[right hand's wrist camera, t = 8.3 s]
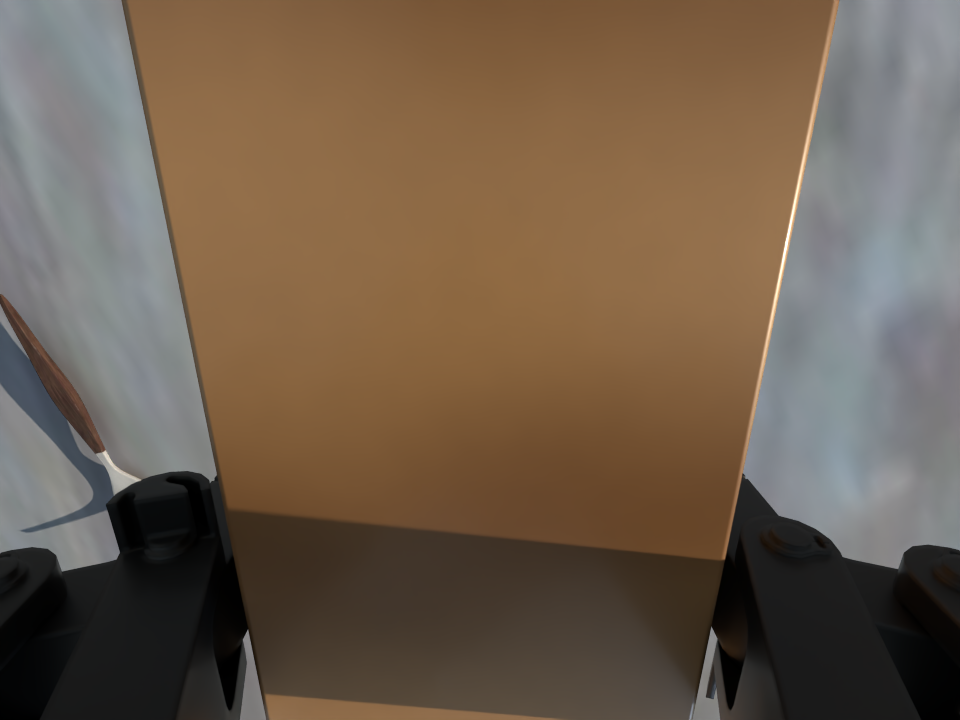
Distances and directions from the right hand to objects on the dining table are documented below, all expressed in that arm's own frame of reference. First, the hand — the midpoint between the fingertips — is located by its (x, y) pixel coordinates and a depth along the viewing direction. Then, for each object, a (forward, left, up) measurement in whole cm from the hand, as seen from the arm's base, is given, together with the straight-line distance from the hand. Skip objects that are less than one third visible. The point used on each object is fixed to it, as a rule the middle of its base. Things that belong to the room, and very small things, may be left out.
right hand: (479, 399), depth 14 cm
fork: (-22, +4, -13) cm, 26 cm away
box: (+4, +6, -1) cm, 7 cm away
